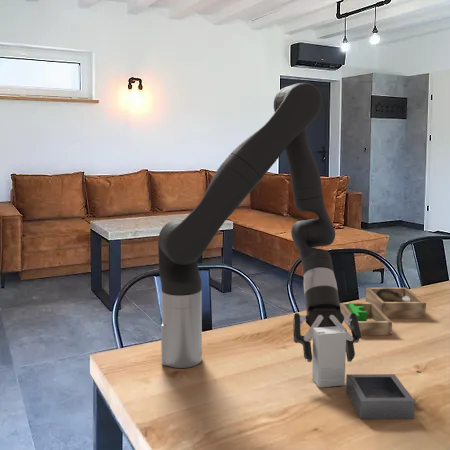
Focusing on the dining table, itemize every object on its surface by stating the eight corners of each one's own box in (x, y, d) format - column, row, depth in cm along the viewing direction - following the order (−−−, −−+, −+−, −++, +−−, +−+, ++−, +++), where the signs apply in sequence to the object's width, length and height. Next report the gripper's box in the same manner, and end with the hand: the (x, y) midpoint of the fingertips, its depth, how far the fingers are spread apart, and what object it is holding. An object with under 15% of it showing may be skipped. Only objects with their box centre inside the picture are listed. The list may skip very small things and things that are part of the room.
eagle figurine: (397, 300, 163) (371, 297, 161) (407, 286, 159) (381, 282, 157) (404, 320, 158) (378, 316, 156) (416, 305, 153) (389, 301, 151)
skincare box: (337, 377, 113) (339, 324, 111) (345, 386, 108) (347, 332, 106) (310, 379, 112) (312, 326, 110) (317, 389, 107) (319, 334, 105)
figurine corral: (381, 317, 151) (381, 303, 150) (365, 301, 167) (366, 287, 166) (425, 317, 151) (426, 302, 150) (405, 300, 167) (406, 287, 166)
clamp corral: (354, 335, 137) (354, 322, 137) (339, 314, 154) (339, 302, 154) (391, 334, 138) (392, 322, 137) (372, 313, 154) (373, 302, 154)
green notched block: (368, 331, 141) (369, 315, 140) (354, 331, 141) (355, 315, 140) (360, 317, 152) (361, 302, 151) (348, 317, 152) (348, 302, 151)
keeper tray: (360, 419, 96) (361, 401, 95) (345, 390, 107) (346, 374, 106) (413, 418, 96) (414, 400, 95) (393, 390, 107) (394, 374, 106)
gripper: (291, 284, 114) (298, 354, 105) (355, 284, 114) (368, 353, 105) (288, 299, 120) (294, 367, 111) (348, 299, 120) (359, 366, 111)
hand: (330, 360), depth 108 cm, fingers open, 8 cm apart
